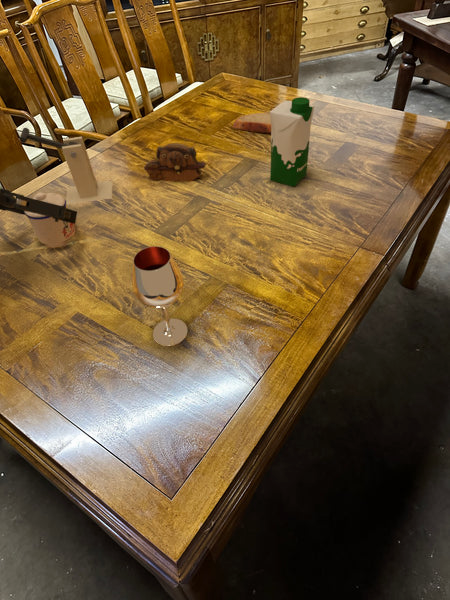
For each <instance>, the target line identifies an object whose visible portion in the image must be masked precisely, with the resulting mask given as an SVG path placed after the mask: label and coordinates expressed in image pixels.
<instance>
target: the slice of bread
mask: <svg viewBox="0 0 450 600" xmlns="http://www.w3.org/2000/svg"><path fill="white" fill-rule="evenodd" d="M232 126H233V127H232V128H233V129H234V130H239V131H244V132H249V133H251V132H253V133H261V134H271V118H270V111H266V112H256V113H255V112H254V113H249V114H245V115H242V116H241V115H240V116H239V117H237V118H236V119H235V120H234V121H233V125H232ZM257 131H258V132H257ZM265 132H266V133H265Z"/></svg>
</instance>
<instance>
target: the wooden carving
mask: <svg viewBox="0 0 450 600" xmlns="http://www.w3.org/2000/svg"><path fill="white" fill-rule="evenodd" d="M155 156H156V159H151V160H149V161H148V162H146V163H145V165H144V167H143V170H144V171H146V173H147V174H148V175H149V177H150V180H152V181H159V180H161V179H162V180H163V181H165V182H192V181H194V180H196V179H197V178H199V177H200V176H201V174H202V173H203V172H202V169H204V168H205V167H206V165H207V162H206V161H203V160H202V161H201V160H200V161H198V159H197V150H196V149H195V147H194V146H188V145H186V144H183V143H178V142H174V143H168V144H165V145H163V146H161V145H159V146H157V148H156V154H155ZM200 169H201V170H200Z"/></svg>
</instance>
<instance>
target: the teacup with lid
mask: <svg viewBox="0 0 450 600" xmlns="http://www.w3.org/2000/svg"><path fill="white" fill-rule="evenodd" d="M31 198H32V199H36V200H40V201H44V202H48V203H52V204H55V205H59V206H64V207H66V208H67V209H69V208H68V205H66V198H65V197H64V196H63V195H61V194H59V193H56V192H47V193H45V192H43V191H40V192H37V193H36V194H35V196H33V197H31ZM24 213H25V215H24V216H26V217H27V219H28V221H29V223H30V224H31V227H32V229H33V231H34V233H35V235H36V237H37V239H38V241H39V242H40V243H41V244H44V245H43V246H44V247H46V248H48V249H49V248H51V249H53V248H54V249H55V248H60V247H61V248H62V247H63V246H66V245H68V244H70V243H71V242H72V241H71V240H69V239H71V238H72V237H73V236H74V235H75V233H76V230H77V229H76V226H75V225H76V224H73V223H69V222H65V221H62V220H58V222H55V219H54V218H53V217H49V216H45V215H40V214H36V213H31V212H26V211H24ZM68 240H69V241H68Z"/></svg>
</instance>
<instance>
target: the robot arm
mask: <svg viewBox="0 0 450 600" xmlns="http://www.w3.org/2000/svg"><path fill="white" fill-rule="evenodd" d="M32 198H33V197H28V196H25V195H23V194H20V193H15V192H11V190H9V189H4V188H0V211H4V212H6V211H7V212H11V213H16V214H20V215H22V216H23V215H24V216H26V215H25V213H24V211H26V212H31V213H36V214H40V215H45V216H49V217H53V218H54V219H55V222H58V220H62V221H65V222H69V223H73V224H74V225H76V221H77V214H78V211H76V210H74V209H70V208H68V207H67V208H68V209H67V208H66V207H64V206H59V205H55V204H52V203H48V202H44V201H40V200H36V199H32Z"/></svg>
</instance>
